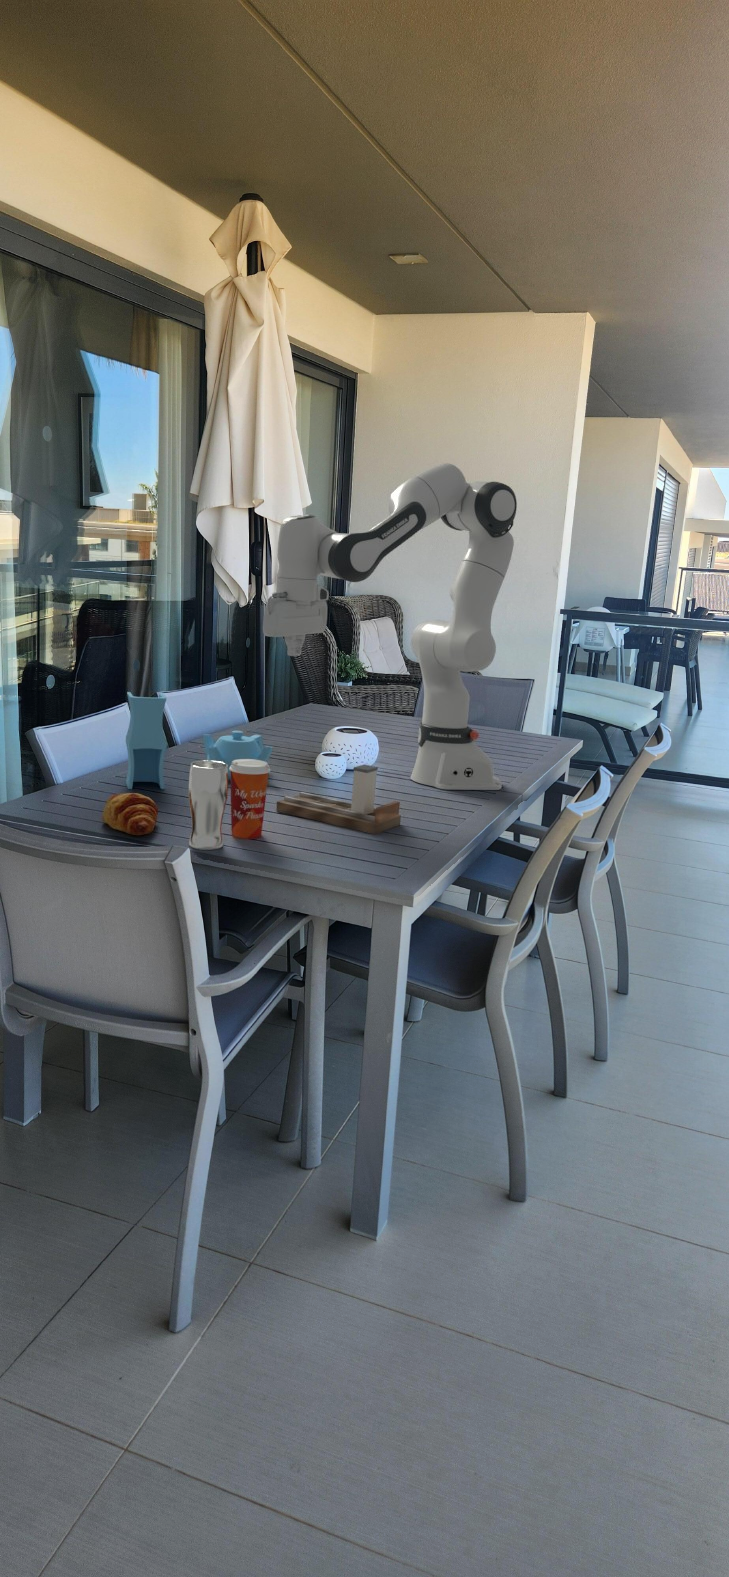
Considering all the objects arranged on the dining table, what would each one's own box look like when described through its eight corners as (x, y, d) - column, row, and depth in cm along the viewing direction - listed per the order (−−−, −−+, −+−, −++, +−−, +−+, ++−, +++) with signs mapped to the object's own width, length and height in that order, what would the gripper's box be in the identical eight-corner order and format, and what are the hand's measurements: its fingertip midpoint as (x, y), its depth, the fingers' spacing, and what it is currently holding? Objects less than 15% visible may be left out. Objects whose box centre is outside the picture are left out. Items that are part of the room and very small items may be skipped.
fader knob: (350, 812, 201) (353, 767, 199) (360, 809, 204) (364, 764, 202) (363, 815, 199) (367, 770, 197) (374, 812, 203) (377, 767, 201)
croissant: (102, 828, 197) (83, 795, 194) (146, 803, 200) (128, 769, 197) (130, 858, 179) (110, 821, 176) (179, 829, 182) (160, 793, 179)
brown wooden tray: (276, 810, 207) (277, 787, 206) (303, 802, 215) (304, 780, 214) (375, 834, 195) (377, 809, 194) (400, 824, 204) (402, 801, 202)
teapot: (272, 784, 230) (275, 738, 228) (207, 783, 226) (209, 736, 224) (262, 769, 244) (264, 726, 242) (200, 768, 240) (202, 724, 238)
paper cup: (232, 841, 183) (235, 767, 180) (221, 830, 190) (224, 758, 187) (272, 839, 186) (277, 766, 183) (260, 828, 193) (264, 758, 190)
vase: (160, 780, 225) (163, 692, 220) (165, 789, 218) (167, 698, 213) (124, 780, 222) (126, 691, 218) (128, 789, 215) (130, 697, 210)
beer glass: (217, 852, 176) (221, 770, 172) (180, 847, 177) (183, 765, 174) (230, 842, 182) (234, 762, 179) (194, 837, 184) (197, 758, 180)
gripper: (281, 593, 206) (279, 660, 209) (333, 592, 223) (330, 653, 227) (256, 591, 209) (254, 657, 212) (309, 590, 226) (307, 650, 230)
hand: (294, 655), depth 220 cm, fingers closed
